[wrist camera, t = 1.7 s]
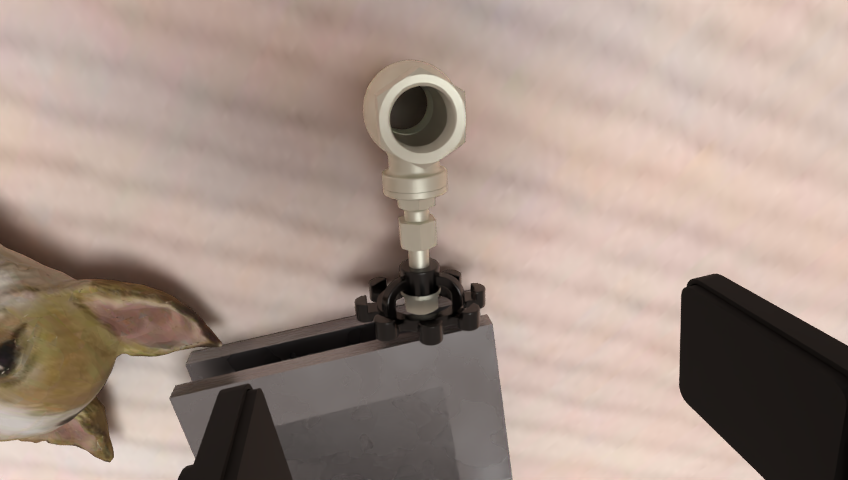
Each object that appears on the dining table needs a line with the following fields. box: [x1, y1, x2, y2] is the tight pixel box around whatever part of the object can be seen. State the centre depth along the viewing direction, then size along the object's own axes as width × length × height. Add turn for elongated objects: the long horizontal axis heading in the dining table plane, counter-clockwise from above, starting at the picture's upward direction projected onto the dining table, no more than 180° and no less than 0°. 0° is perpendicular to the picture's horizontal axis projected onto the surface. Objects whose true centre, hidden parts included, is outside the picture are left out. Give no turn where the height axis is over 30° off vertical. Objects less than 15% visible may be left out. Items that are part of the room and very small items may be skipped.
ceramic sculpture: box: [0, 244, 222, 462], centre depth 22 cm, size 11×9×15 cm
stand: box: [169, 290, 512, 480], centre depth 30 cm, size 16×16×4 cm
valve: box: [355, 60, 485, 346], centre depth 23 cm, size 7×7×12 cm
